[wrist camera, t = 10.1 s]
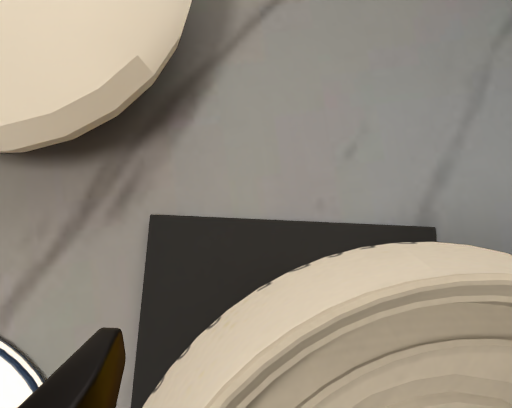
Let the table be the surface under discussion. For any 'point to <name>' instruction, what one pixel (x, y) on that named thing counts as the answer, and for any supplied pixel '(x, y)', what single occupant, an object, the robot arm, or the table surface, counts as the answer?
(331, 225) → the mat
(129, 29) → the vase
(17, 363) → the plate
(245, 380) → the beer can
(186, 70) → the table surface
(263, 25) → the table surface
